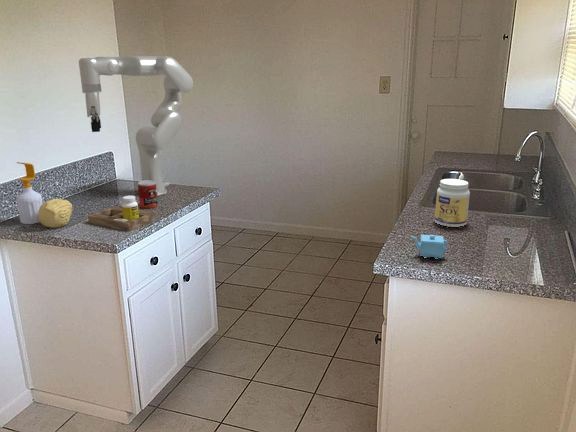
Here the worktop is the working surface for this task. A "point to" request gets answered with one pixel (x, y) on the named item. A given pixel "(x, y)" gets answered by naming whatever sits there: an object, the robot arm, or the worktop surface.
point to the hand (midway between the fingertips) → (96, 130)
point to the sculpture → (55, 213)
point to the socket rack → (119, 219)
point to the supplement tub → (452, 203)
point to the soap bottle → (29, 198)
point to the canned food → (147, 194)
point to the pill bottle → (130, 208)
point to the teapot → (431, 246)
